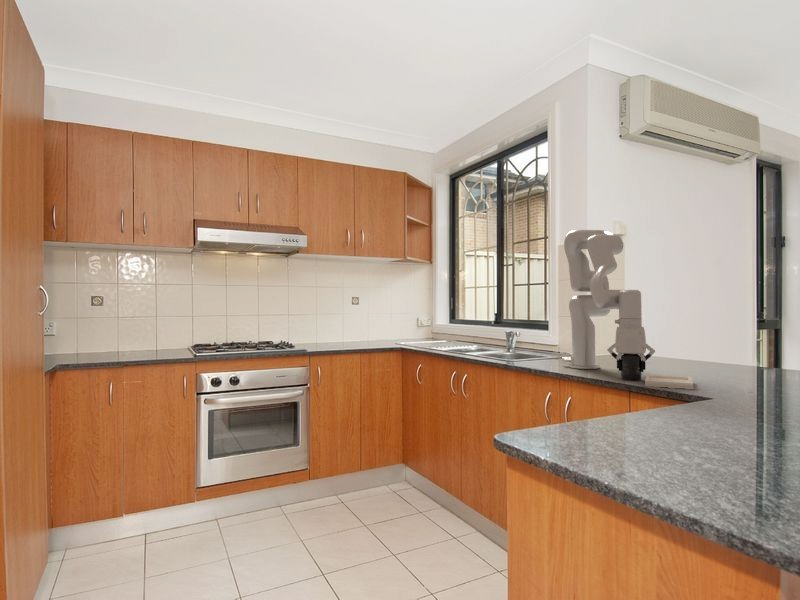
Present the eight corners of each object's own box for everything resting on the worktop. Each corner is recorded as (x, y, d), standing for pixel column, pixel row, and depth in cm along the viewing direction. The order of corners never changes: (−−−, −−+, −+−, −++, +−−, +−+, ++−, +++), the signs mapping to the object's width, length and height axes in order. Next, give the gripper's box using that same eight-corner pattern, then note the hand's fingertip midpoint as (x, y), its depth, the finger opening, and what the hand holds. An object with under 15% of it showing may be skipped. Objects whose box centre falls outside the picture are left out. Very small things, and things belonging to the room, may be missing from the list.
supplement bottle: (644, 381, 171) (643, 348, 171) (623, 380, 173) (623, 348, 173) (638, 378, 178) (637, 346, 178) (619, 377, 179) (618, 346, 179)
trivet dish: (645, 386, 162) (645, 380, 162) (646, 380, 174) (646, 374, 174) (693, 389, 155) (693, 383, 155) (691, 382, 167) (691, 377, 167)
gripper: (603, 323, 176) (604, 371, 176) (656, 323, 168) (657, 374, 168) (606, 322, 183) (606, 368, 183) (657, 322, 174) (657, 371, 174)
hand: (631, 370), depth 175 cm, fingers closed on supplement bottle, 6 cm apart
